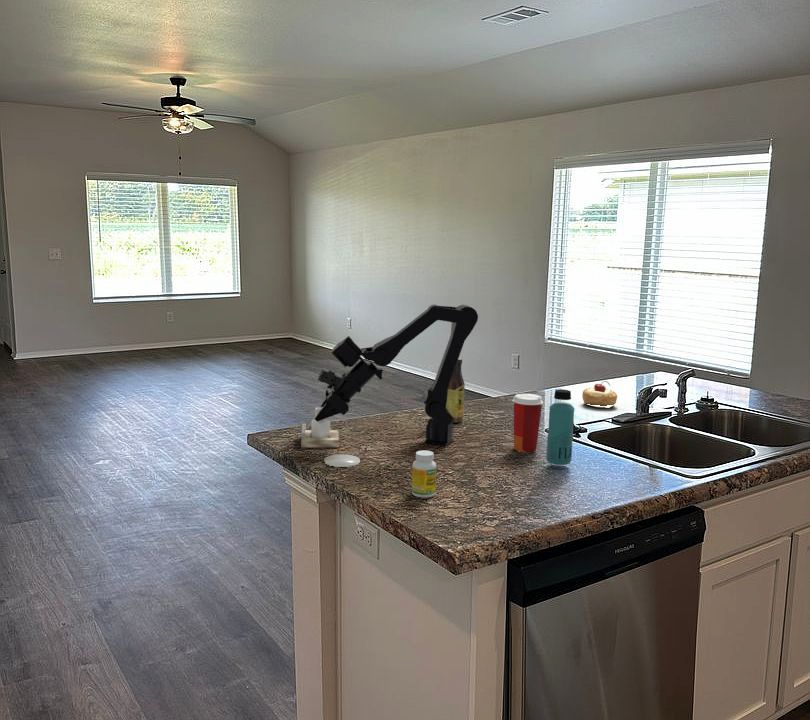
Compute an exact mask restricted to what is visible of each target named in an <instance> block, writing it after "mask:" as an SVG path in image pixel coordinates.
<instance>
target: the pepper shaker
mask: <svg viewBox="0 0 810 720" xmlns="http://www.w3.org/2000/svg"><path fill="white" fill-rule="evenodd" d="M322 408H323V407H320V406H317V407H315V408H314V411H315V412H314V417H316V416H317V414H318V413H319V412H320V410H321V409H322ZM310 423H311V427H310V428H311V429H310V430H311V438H330V430H331V420H330V419H329V418H325V419H323V420H320V421H318V422H317V421H316V420H315V418H313V419H312V420H311V422H310Z"/></svg>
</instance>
